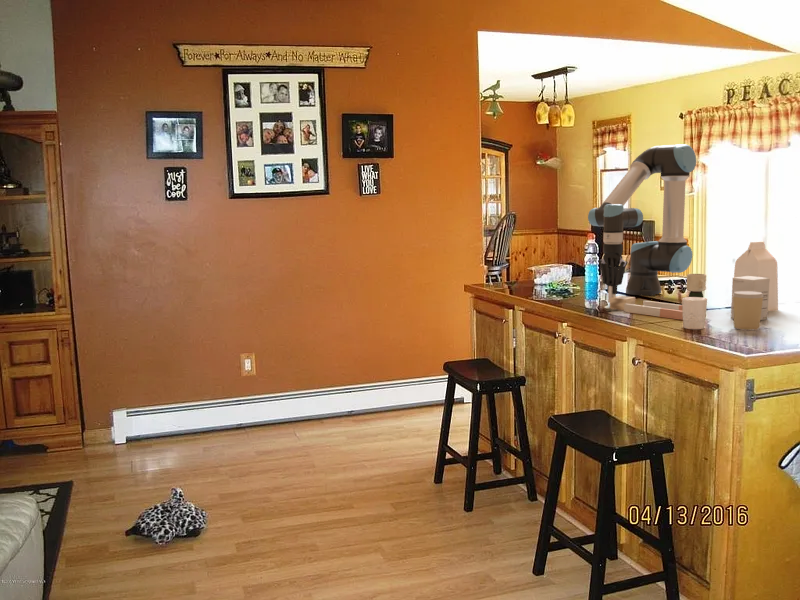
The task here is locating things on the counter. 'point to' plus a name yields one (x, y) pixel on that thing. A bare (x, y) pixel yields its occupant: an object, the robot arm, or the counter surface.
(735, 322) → the coffee cup
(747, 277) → the supplement box
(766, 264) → the milk
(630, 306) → the channel
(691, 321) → the white cup
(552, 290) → the counter surface
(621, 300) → the maple block
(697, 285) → the character mug
